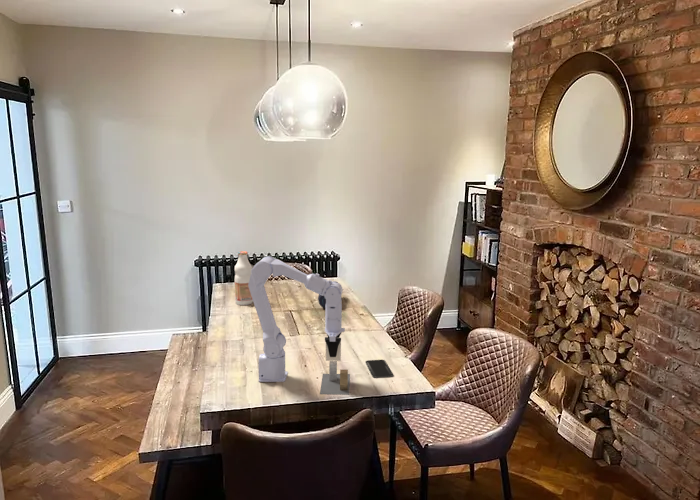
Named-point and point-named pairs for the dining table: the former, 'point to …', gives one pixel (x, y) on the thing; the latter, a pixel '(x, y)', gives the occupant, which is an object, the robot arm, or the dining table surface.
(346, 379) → the bronze post
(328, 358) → the beige block
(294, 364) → the dining table surface
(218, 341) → the dining table surface
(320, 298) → the portable speaker
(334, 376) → the steel post
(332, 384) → the base board
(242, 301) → the fruit juice
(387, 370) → the phone
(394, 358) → the dining table surface
